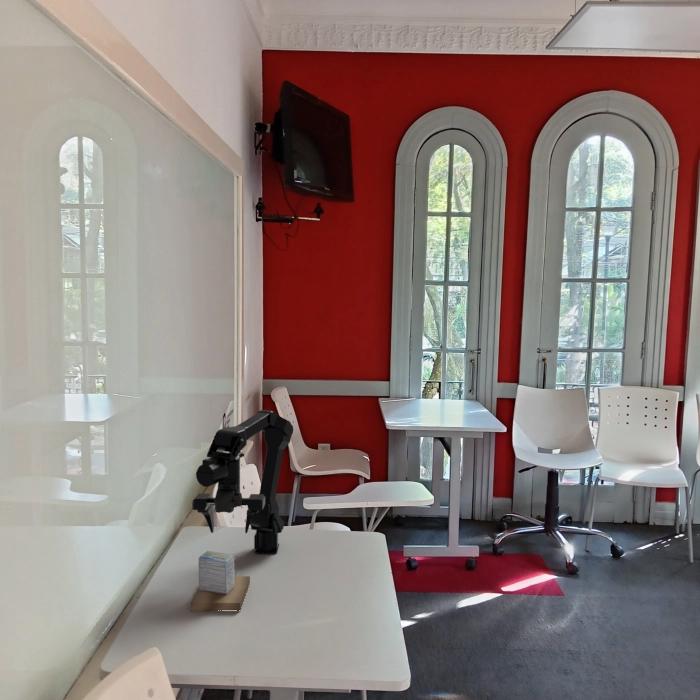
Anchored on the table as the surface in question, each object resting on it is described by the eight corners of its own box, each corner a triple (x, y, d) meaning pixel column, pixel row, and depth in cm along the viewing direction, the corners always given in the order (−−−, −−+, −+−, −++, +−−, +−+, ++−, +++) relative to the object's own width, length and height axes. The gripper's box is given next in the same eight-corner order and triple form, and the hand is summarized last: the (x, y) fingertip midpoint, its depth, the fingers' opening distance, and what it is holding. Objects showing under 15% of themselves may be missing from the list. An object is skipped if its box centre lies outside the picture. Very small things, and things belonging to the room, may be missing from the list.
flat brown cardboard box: (249, 587, 159) (249, 576, 159) (240, 615, 145) (240, 603, 145) (204, 586, 159) (204, 575, 159) (190, 614, 145) (190, 602, 145)
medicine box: (235, 587, 153) (235, 554, 152) (226, 595, 149) (226, 561, 148) (207, 582, 155) (207, 550, 154) (198, 590, 151) (198, 557, 150)
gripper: (186, 485, 154) (187, 544, 155) (259, 486, 154) (259, 545, 155) (197, 472, 165) (197, 527, 166) (265, 473, 165) (265, 528, 166)
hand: (229, 532), depth 163 cm, fingers open, 9 cm apart
